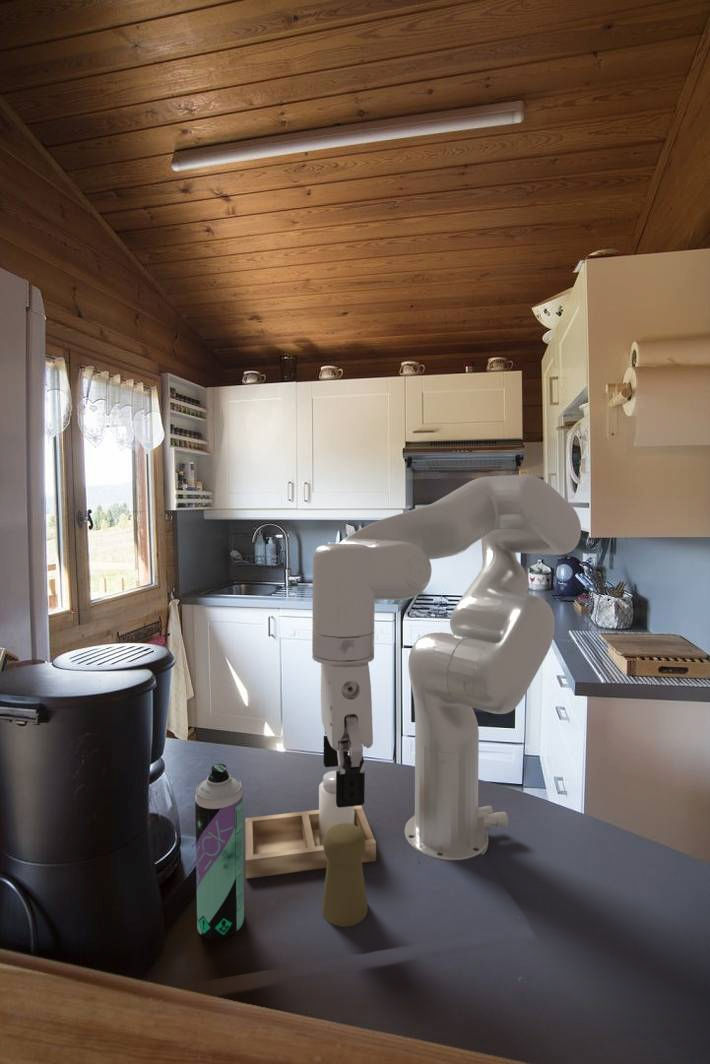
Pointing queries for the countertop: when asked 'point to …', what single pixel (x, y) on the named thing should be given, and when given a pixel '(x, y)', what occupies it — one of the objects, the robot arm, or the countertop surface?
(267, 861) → the caddy
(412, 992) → the countertop surface
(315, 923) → the countertop surface
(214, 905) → the spray can
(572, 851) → the countertop surface
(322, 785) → the salt shaker
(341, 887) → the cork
